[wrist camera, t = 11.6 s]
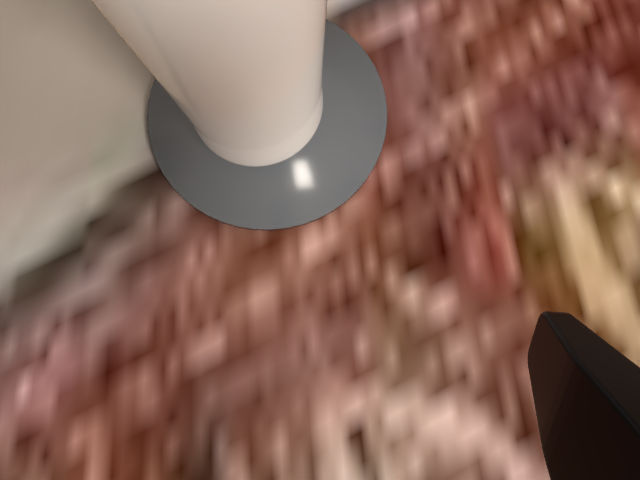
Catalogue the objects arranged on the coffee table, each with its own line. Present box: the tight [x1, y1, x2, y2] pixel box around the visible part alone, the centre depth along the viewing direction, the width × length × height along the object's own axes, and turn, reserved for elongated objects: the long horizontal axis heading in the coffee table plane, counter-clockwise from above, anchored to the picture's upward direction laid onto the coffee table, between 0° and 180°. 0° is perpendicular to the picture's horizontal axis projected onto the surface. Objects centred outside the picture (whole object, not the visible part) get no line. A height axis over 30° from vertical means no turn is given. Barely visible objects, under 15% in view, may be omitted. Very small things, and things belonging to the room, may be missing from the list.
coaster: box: [147, 20, 387, 230], centre depth 25 cm, size 10×10×1 cm
